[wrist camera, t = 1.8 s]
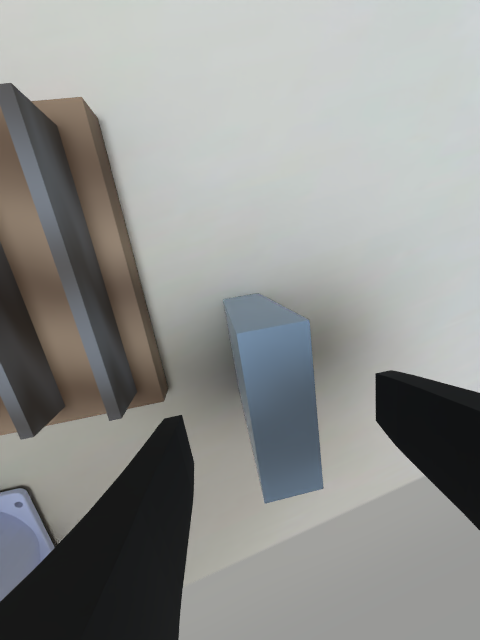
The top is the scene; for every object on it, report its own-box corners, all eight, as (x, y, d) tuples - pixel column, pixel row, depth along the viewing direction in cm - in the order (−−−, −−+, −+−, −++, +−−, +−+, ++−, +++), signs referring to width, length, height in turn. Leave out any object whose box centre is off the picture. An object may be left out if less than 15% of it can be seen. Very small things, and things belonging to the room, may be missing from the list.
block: (271, 386, 17) (323, 488, 9) (239, 393, 17) (264, 503, 9) (258, 293, 15) (309, 320, 7) (222, 299, 15) (236, 333, 7)
